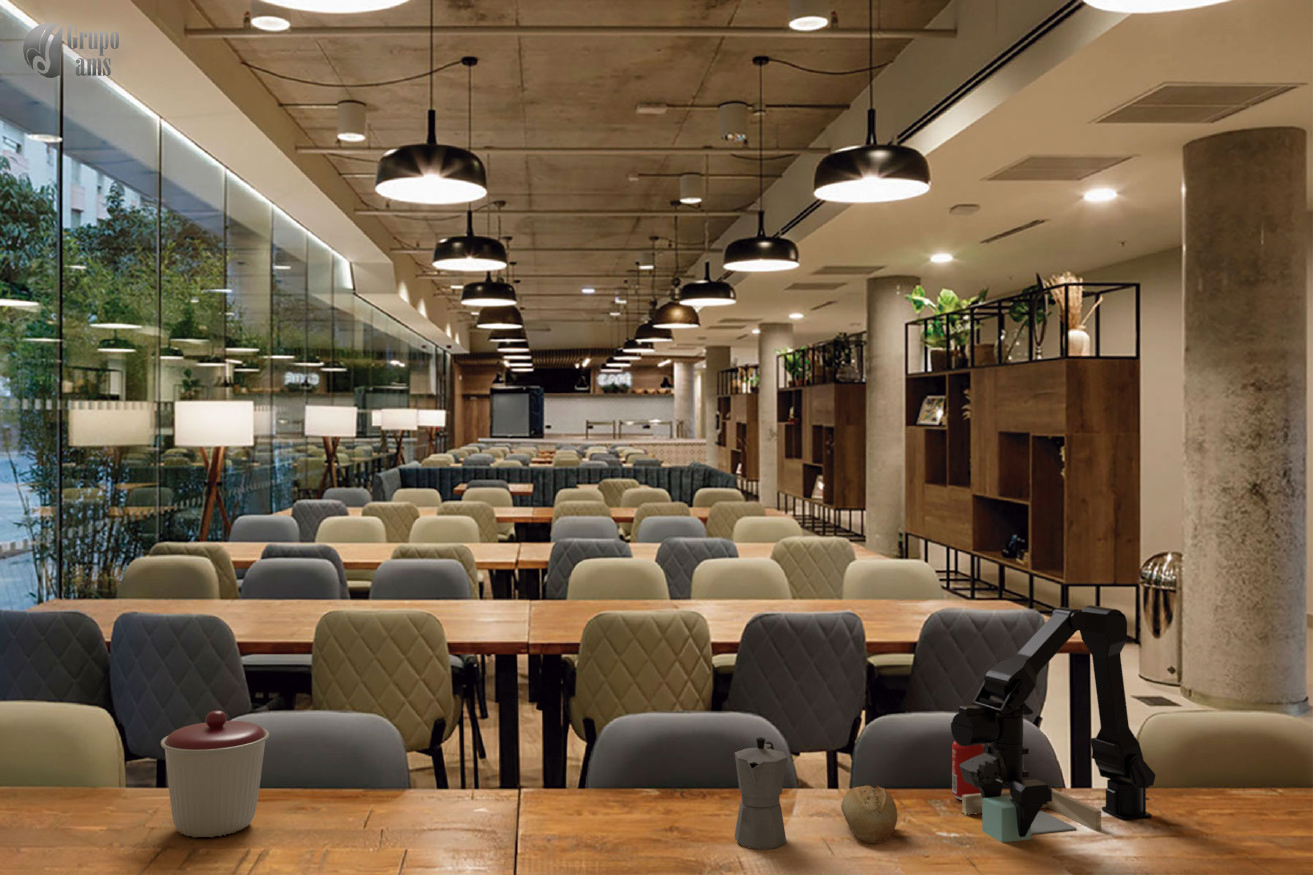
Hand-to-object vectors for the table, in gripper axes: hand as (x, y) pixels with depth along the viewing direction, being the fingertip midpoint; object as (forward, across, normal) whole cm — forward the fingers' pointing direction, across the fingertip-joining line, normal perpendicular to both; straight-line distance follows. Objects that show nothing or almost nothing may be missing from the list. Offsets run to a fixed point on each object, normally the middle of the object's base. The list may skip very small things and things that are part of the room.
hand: (1006, 827), depth 195 cm
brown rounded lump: (+2, -8, -23) cm, 25 cm away
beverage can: (+1, -20, +5) cm, 21 cm away
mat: (+1, -4, +9) cm, 10 cm away
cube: (+1, 0, 0) cm, 1 cm away
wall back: (+1, -5, +18) cm, 18 cm away
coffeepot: (+2, -10, -43) cm, 44 cm away
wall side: (+1, -12, +8) cm, 14 cm away
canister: (+2, -41, -136) cm, 142 cm away
